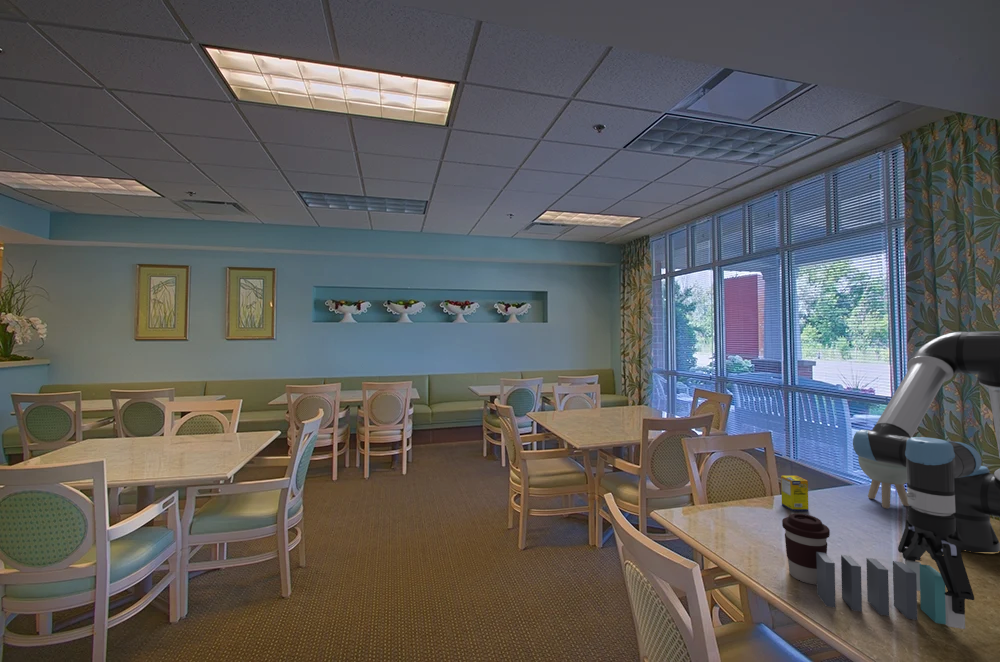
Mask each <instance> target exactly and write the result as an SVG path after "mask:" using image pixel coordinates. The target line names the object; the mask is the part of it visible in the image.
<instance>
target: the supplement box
mask: <svg viewBox="0 0 1000 662" xmlns="http://www.w3.org/2000/svg"><path fill="white" fill-rule="evenodd" d="M780 482H781V483H780V484H781V485H780V486H781V487H780V488H781V490H780V491H781V506H783V507H784V508H787V510H790V511H792V512H809V480H807V479H804V478H803V477H800V476H798V475H780Z"/></svg>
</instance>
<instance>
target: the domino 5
mask: <svg viewBox="0 0 1000 662" xmlns="http://www.w3.org/2000/svg"><path fill="white" fill-rule="evenodd" d="M945 592H947V591H946V585H945V583H944V581H943V578H942V576H941V574H940V571H939V570H938V571H937V569H935V568H933V567H932V566H931V565H929V564H922V563H921V564H920V591H919V593H920V594H919V595H920V596H919V597H920V602H919V603H920V605H919V606H920V610H921V611H922V612H923V613H925V614H926V616H928V617H929V619H930V620H932V621H933V622H934V623H935V624H938V625H939V624H940V625H946V610H945Z"/></svg>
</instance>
